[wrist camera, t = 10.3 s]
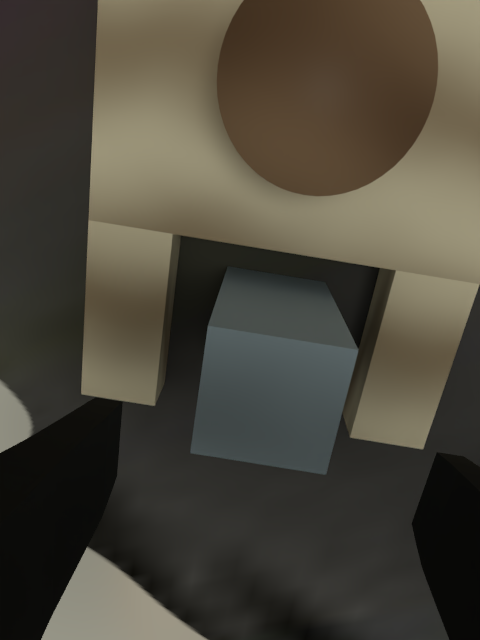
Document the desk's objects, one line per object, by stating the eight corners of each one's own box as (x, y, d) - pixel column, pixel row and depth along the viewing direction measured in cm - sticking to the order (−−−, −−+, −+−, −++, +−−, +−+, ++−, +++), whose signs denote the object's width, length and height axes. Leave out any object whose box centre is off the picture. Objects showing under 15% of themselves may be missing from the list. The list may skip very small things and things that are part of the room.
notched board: (408, 422, 21) (451, 501, 16) (97, 372, 20) (48, 436, 16) (553, -29, 15) (688, -116, 10) (124, -101, 15) (59, -221, 10)
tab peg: (305, 370, 20) (325, 474, 13) (214, 355, 20) (190, 452, 13) (325, 281, 19) (358, 350, 12) (227, 266, 19) (207, 325, 12)
